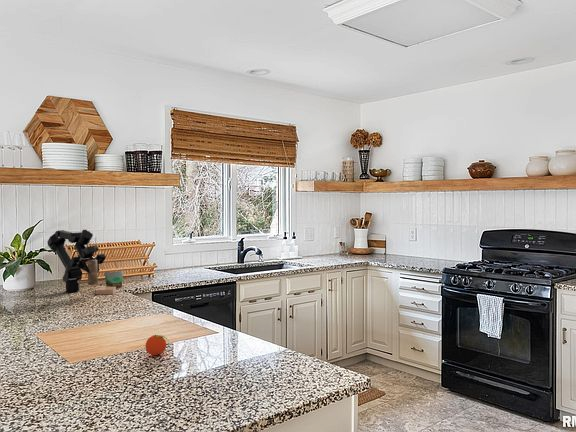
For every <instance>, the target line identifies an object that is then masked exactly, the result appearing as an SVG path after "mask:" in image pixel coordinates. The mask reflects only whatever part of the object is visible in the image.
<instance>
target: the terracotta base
mask: <svg viewBox="0 0 576 432" xmlns="http://www.w3.org/2000/svg"><path fill="white" fill-rule="evenodd" d="M116 291H117V288H116V287H106V286H99V287H98V288H96V290H95V295H113V294H115V292H116Z"/></svg>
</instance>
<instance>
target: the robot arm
mask: <svg viewBox="0 0 576 432" xmlns="http://www.w3.org/2000/svg"><path fill="white" fill-rule="evenodd" d="M92 239H93V233H92V232H91V231H88V230H87V229H82V231H81V232H71V231H67V230H63V229H62V230H59V229H58V230H56V231H54V234H52V235H51V236H50V237H49V238H48V239H47V246H48V247H49V249H50V250H51V251H53V252H55V253H56V254H57V257H58V259H59V260H60V262H61V263H62V265H63V267H64V269H65V270H64V274H63V276H62V281H63V282H64V283H65V291H64V292H65V293H77V292H79V291H80V290H81V288H80V287H81V286H80V285H81V283H80V281H82V277H83V271H84V272H86V273H87V274H88V273H90V271H89V269H88V266H87V260H97V271H98V273H99V272H100V265H101V264H104V262H105V260H106V258H107V256H106V255H105V254H104V253H101V254H96V256H95V253H97V252H98V251H99V250H100V249H99V246H98V245H97V244H96V245H92V246H89V244H90V243H91V240H92ZM67 240H68V242H69V243H71V244H74V247H73V250H74V251H77V253H78V254H77V256H73V257H72V258H71V257H70V256H69V254H68V251H67V250H66V248H65V244H66V242H67ZM94 256H95V257H94Z"/></svg>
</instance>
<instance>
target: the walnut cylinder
mask: <svg viewBox="0 0 576 432" xmlns="http://www.w3.org/2000/svg"><path fill="white" fill-rule="evenodd" d="M86 265H87V267H88V269H89V271H90V273H87V285H88V286H93V285H98V283H99V280H98V279H99V277H98V273H99V272H98V271H97V260H87V262H86Z"/></svg>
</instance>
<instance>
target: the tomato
mask: <svg viewBox="0 0 576 432" xmlns="http://www.w3.org/2000/svg"><path fill="white" fill-rule="evenodd" d="M166 340H167V341H169V339H168V338H167V337H166V336H164V335H159V334H154V335H150V337H148V338H147V339H146V342H145V350H146V352H147V353H148V354H149V355H150V354H151V356H153V355H158V354H160V355H162V354H163V353H164V352H165V351H166V348H167V341H166ZM158 356H159V355H158Z"/></svg>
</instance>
